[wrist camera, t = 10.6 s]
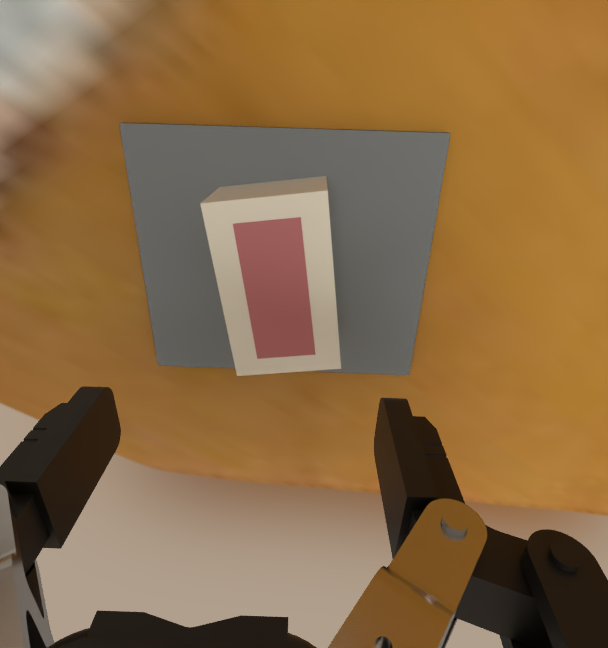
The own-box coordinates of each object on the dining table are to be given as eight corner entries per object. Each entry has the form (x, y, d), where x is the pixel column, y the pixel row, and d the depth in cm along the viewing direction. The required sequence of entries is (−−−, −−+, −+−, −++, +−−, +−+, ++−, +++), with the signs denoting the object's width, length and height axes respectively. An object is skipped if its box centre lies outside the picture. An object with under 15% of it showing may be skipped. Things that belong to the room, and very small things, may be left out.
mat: (160, 361, 27) (157, 365, 27) (123, 122, 21) (119, 123, 20) (407, 370, 27) (409, 375, 27) (447, 132, 21) (450, 133, 20)
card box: (219, 186, 22) (199, 203, 18) (325, 175, 21) (327, 190, 18) (248, 338, 26) (236, 376, 22) (338, 331, 25) (341, 369, 22)
